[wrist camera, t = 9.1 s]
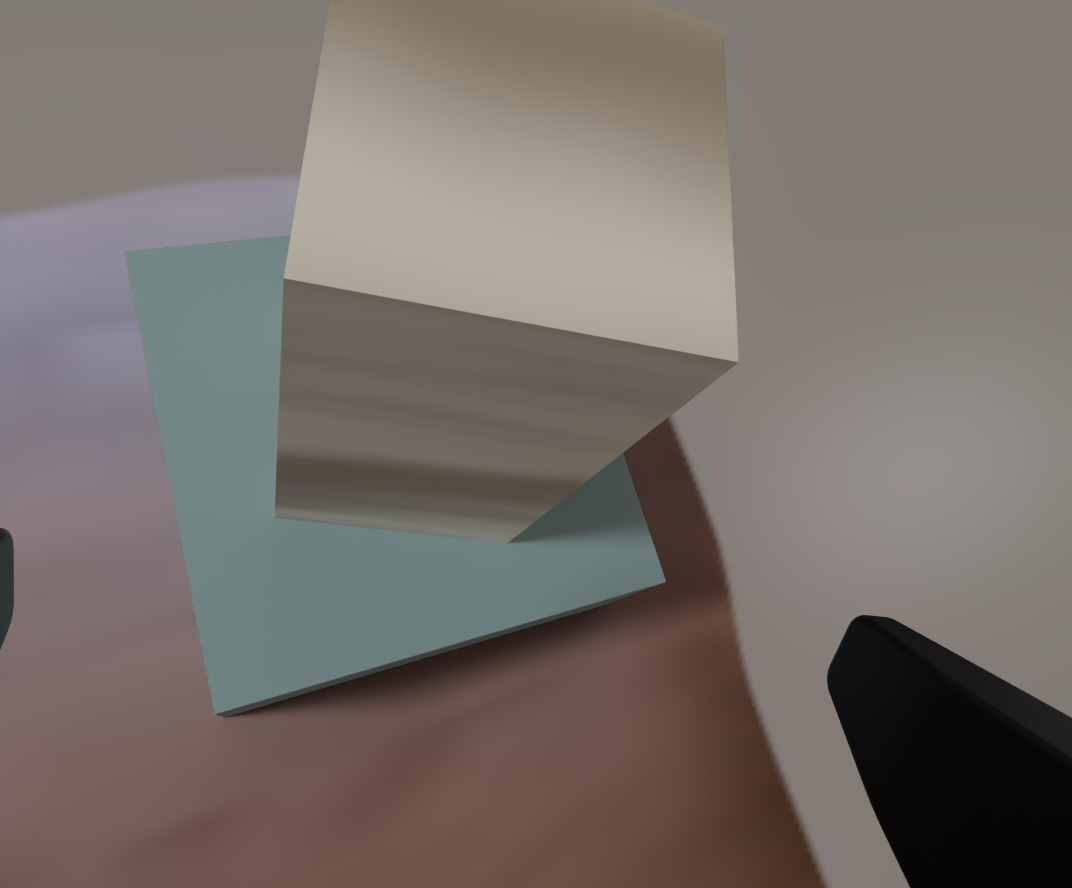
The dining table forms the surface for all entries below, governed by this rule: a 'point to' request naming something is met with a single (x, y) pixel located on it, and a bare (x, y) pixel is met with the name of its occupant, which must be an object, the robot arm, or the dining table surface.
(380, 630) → the base block
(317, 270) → the cream block
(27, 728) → the dining table surface
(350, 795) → the dining table surface
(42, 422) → the dining table surface
